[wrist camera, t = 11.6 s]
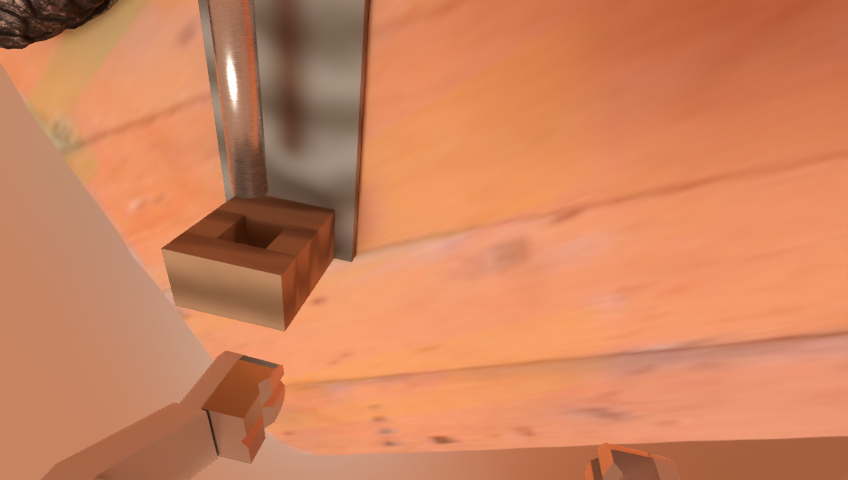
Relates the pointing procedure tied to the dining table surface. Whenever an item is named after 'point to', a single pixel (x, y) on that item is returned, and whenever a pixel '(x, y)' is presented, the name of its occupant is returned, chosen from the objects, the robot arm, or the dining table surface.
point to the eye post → (284, 169)
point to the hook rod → (240, 94)
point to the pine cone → (44, 19)
